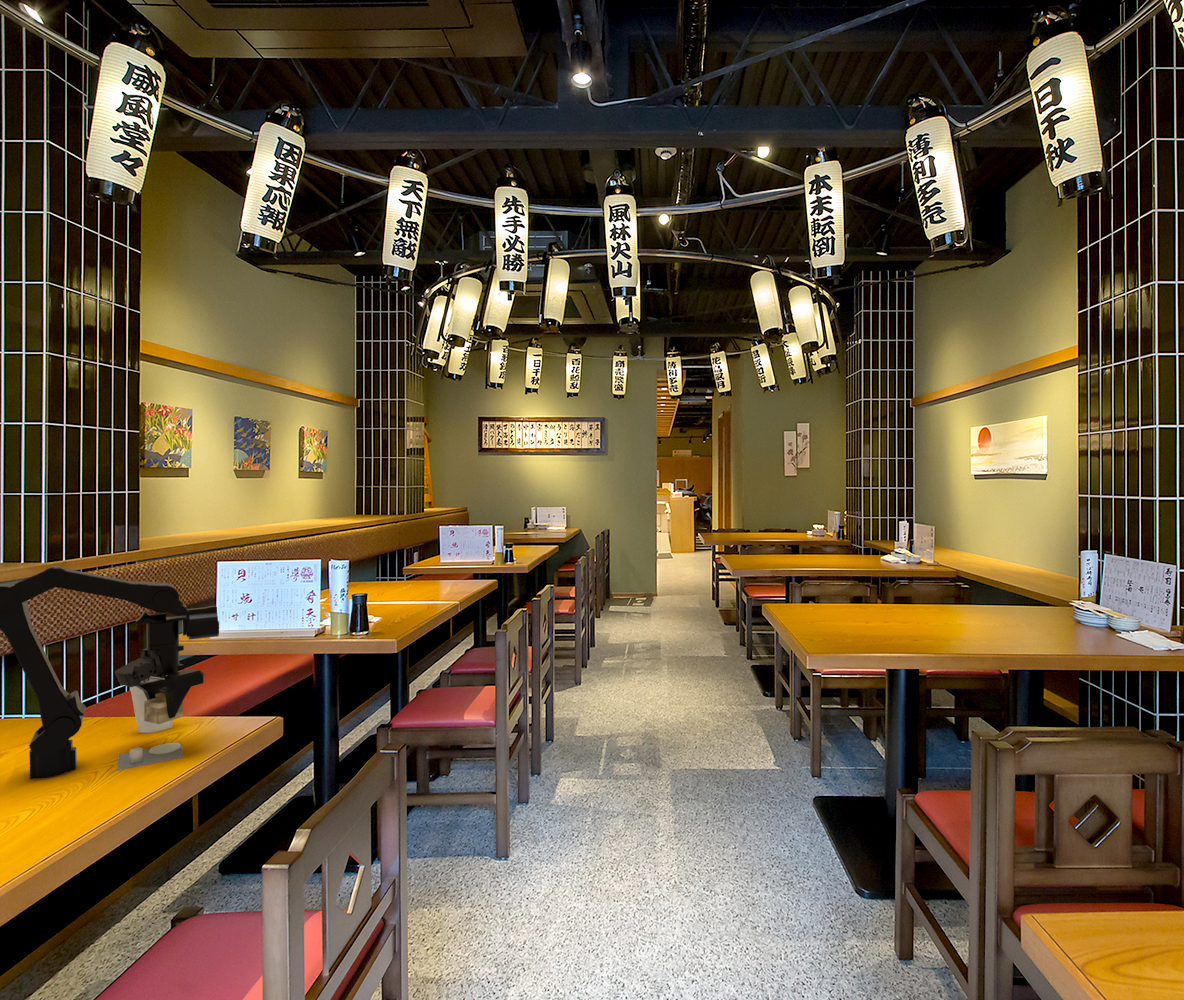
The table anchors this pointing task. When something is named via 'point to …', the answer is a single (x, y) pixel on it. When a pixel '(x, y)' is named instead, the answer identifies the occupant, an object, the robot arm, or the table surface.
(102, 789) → the table surface
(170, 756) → the lock board
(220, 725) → the table surface
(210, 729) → the table surface
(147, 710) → the hinoki cap
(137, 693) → the foam cup
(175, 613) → the robot arm
